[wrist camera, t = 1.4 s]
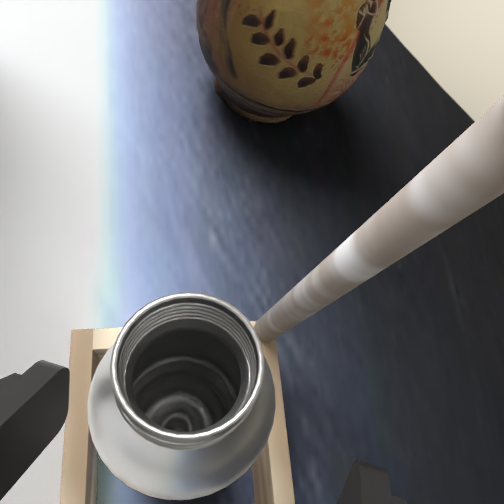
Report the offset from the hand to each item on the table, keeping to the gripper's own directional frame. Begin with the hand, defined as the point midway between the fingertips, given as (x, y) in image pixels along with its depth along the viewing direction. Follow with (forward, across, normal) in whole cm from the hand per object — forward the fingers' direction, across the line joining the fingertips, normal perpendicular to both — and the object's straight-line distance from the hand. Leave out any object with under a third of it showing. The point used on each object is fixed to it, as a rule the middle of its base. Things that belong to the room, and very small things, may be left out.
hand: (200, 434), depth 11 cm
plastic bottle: (+12, +4, +13) cm, 18 cm away
